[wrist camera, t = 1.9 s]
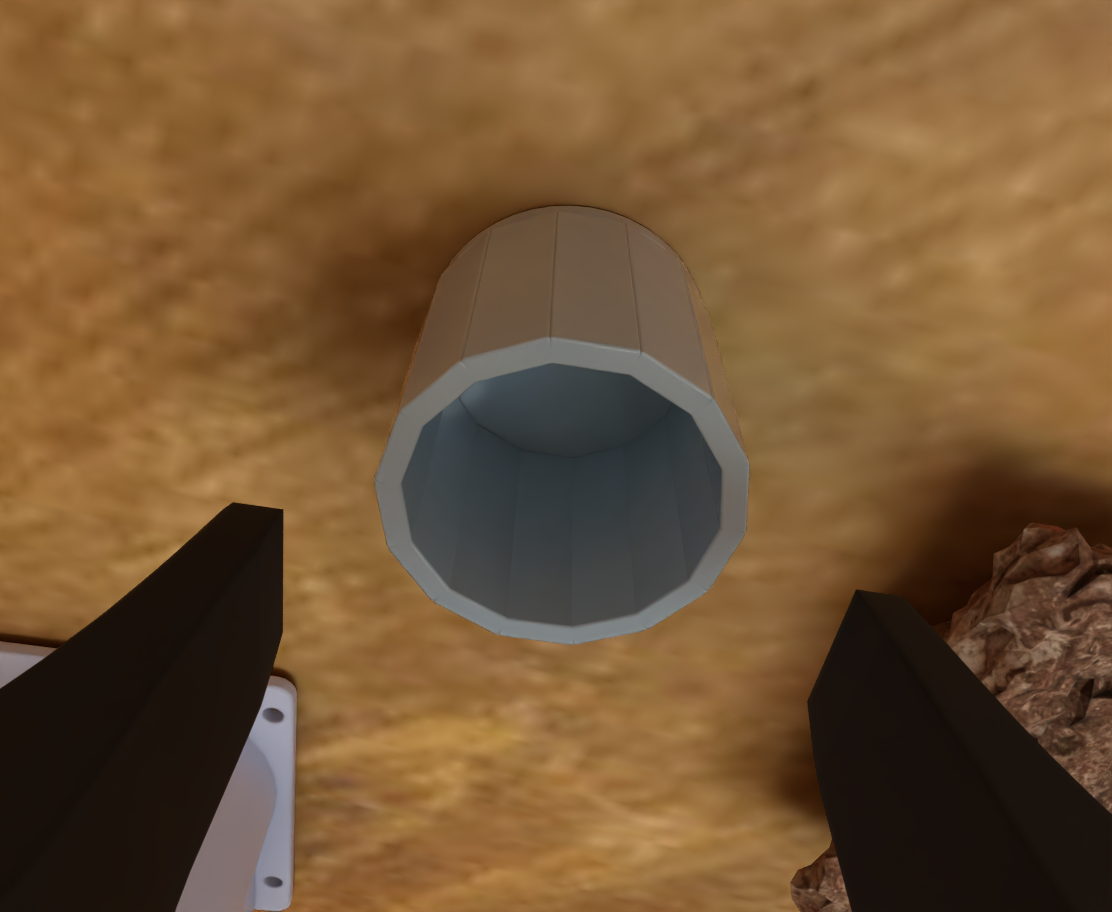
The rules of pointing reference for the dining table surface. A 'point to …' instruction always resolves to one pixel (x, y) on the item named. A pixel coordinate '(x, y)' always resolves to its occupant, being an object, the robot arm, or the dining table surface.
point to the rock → (1029, 666)
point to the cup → (564, 434)
